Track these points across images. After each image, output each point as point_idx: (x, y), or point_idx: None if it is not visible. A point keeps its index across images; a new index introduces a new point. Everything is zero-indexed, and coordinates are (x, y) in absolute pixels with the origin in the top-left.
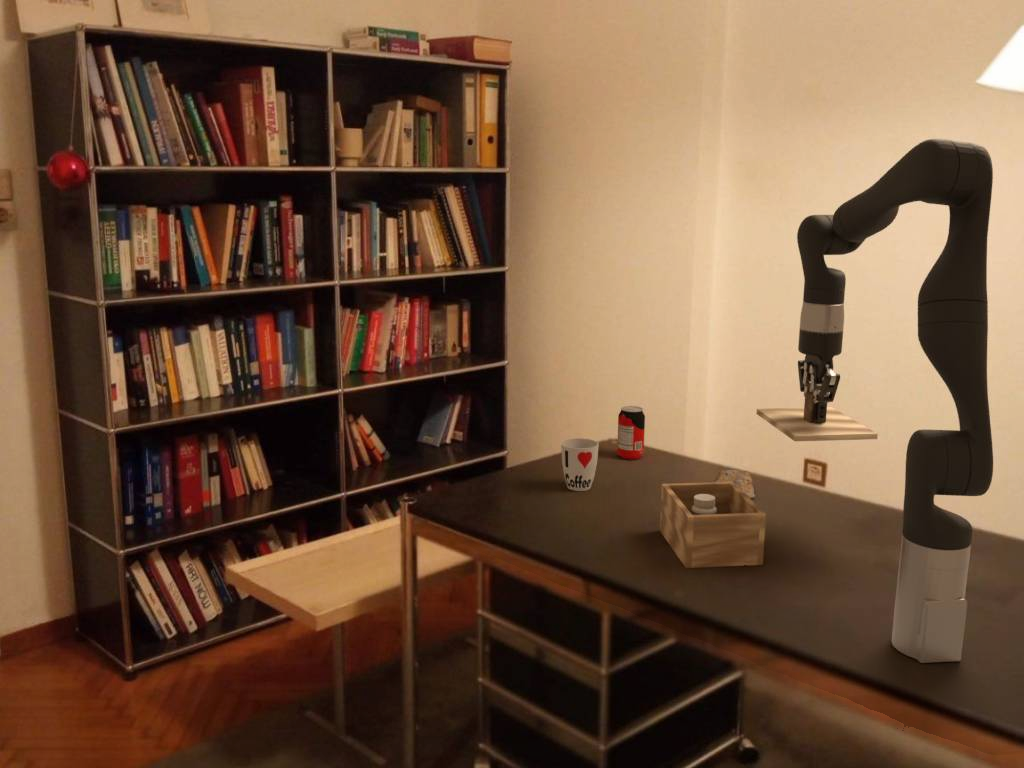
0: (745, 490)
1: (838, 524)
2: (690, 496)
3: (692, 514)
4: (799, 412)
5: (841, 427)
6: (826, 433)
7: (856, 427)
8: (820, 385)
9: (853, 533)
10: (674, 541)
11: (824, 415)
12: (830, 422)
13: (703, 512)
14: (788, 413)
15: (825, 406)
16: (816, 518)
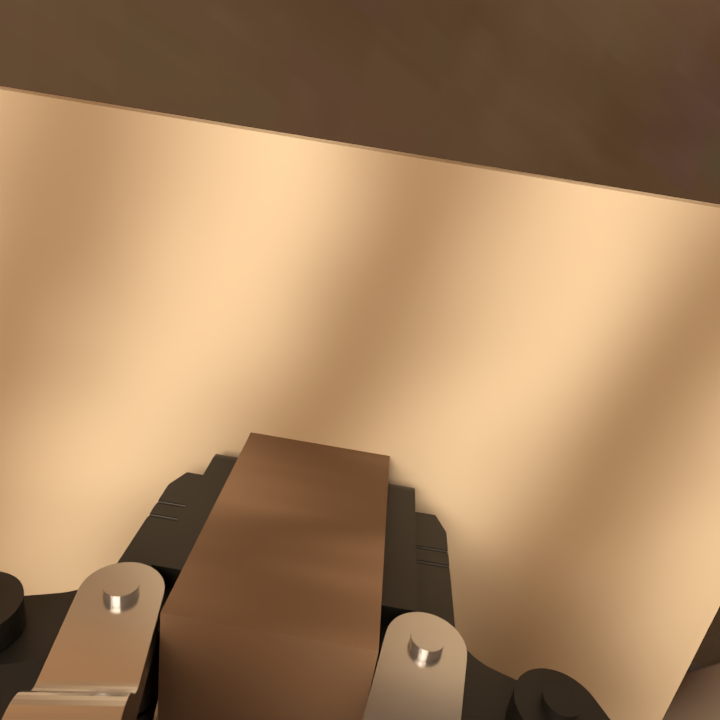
0: None
1: (253, 51)
2: None
3: None
4: (48, 472)
5: (572, 426)
6: (669, 616)
7: (625, 301)
8: (128, 714)
9: (347, 49)
10: None
11: (445, 555)
12: (399, 420)
13: None
14: (72, 556)
15: (454, 623)
16: (183, 101)
